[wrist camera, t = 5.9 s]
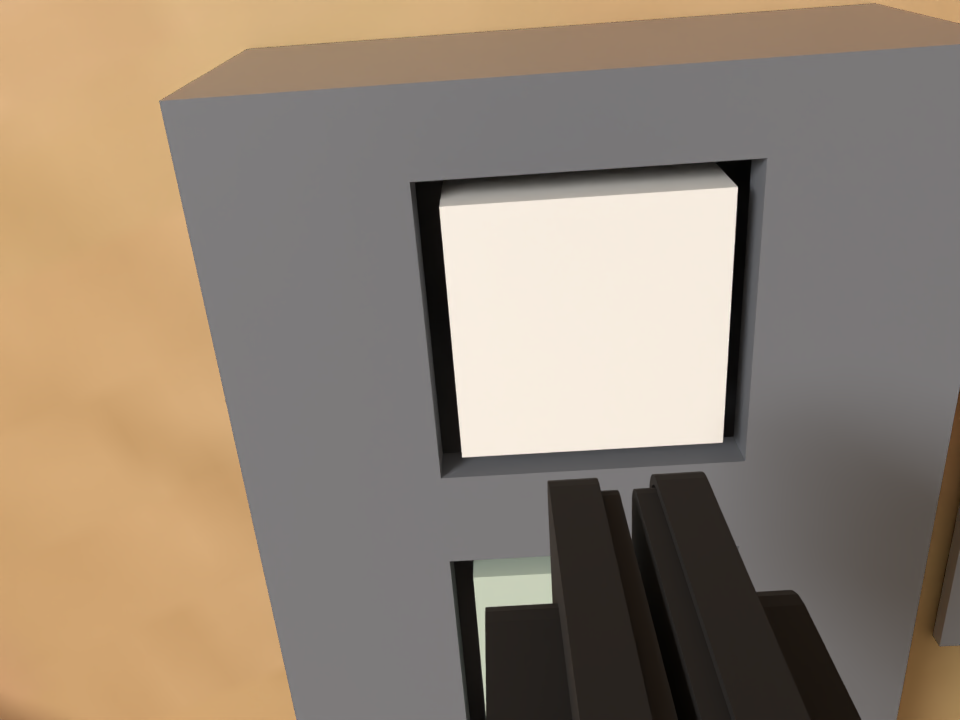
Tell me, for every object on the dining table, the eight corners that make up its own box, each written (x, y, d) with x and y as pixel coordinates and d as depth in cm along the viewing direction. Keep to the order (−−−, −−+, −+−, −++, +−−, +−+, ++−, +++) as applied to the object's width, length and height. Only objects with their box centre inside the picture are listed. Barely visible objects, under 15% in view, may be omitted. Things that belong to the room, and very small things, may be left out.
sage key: (474, 500, 19) (472, 577, 17) (688, 488, 19) (715, 564, 16) (488, 659, 21) (488, 746, 18) (681, 650, 20) (705, 737, 18)
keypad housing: (247, 48, 17) (159, 100, 13) (874, 3, 17) (1025, 39, 12) (380, 812, 27) (359, 1002, 23) (782, 794, 27) (846, 984, 22)
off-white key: (445, 165, 16) (438, 207, 13) (702, 148, 15) (738, 186, 13) (465, 389, 18) (462, 457, 15) (692, 376, 17) (722, 442, 15)
